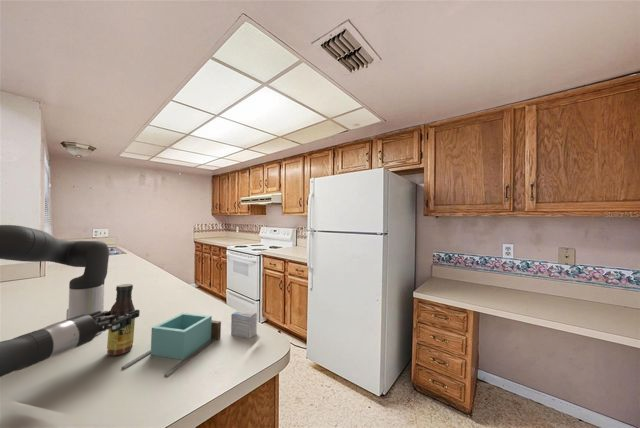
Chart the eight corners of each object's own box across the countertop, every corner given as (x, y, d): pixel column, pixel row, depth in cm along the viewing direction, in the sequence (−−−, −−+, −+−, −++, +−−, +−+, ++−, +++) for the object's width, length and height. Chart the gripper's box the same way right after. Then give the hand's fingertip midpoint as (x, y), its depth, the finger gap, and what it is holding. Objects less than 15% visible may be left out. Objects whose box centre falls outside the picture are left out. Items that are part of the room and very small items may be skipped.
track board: (118, 373, 67) (119, 347, 68) (180, 336, 89) (180, 316, 89) (169, 382, 64) (169, 355, 64) (220, 342, 86) (220, 321, 86)
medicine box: (256, 336, 90) (257, 312, 90) (249, 342, 86) (250, 316, 86) (238, 333, 93) (239, 309, 93) (230, 338, 88) (231, 313, 89)
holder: (150, 354, 74) (151, 327, 75) (181, 336, 87) (182, 312, 87) (183, 359, 72) (184, 332, 72) (211, 339, 84) (211, 316, 84)
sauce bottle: (118, 358, 72) (121, 289, 73) (101, 355, 74) (104, 287, 74) (139, 347, 79) (141, 283, 79) (122, 344, 80) (125, 282, 80)
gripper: (89, 323, 61) (149, 301, 77) (44, 317, 64) (111, 297, 80) (87, 354, 61) (148, 326, 77) (43, 347, 64) (110, 321, 80)
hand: (129, 311), depth 79 cm, fingers closed on sauce bottle, 6 cm apart
